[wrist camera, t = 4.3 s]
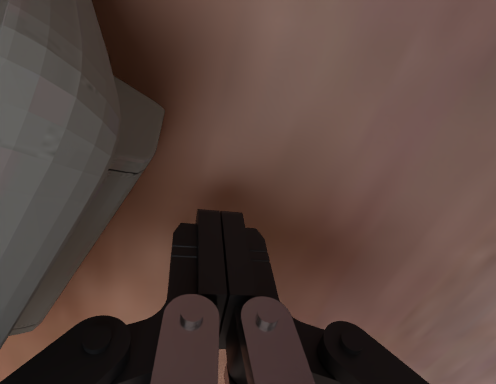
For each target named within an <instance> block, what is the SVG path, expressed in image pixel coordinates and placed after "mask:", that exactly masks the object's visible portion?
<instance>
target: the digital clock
mask: <svg viewBox="0 0 496 384" xmlns="http://www.w3.org/2000/svg"><path fill="white" fill-rule="evenodd" d="M164 113H165V110H164V109H163V108H162V107H161V106H160V105H159V104H157V103H156V102H155V101H153V100H152V99H150V98H148V97H147V96H145V95H144V94H142V93H140V92H139V91H137V90H136V89H134V88H132V87H131V86H129V85H128V84H126V83H124V82H123V81H121V80H120V79H118V78H116V77H115V76H113V73H112V69H111V65H110V61H109V57H108V53H107V50H106V47H105V43H104V40H103V37H102V33H101V30H100V27H99V23H98V20H97V17H96V13H95V10H94V7H93V3H92V0H0V349H1V347H2V346H3V344H4V342H5V341H6V339H7V338H8V336H10V335H16V334H21V333H25V332H29V331H32V330H34V329H35V328H36V327H37V326H38V325H39V324H40V323H41V322H42V321H43V319H44V318H45V316H46V315H47V313H48V312H49V310H50V309H51V307H52V306H53V304H54V303H55V301H56V300H57V298H58V297H59V296H60V294H61V293H62V291H63V290H64V288H65V287H66V285H67V284H68V282H69V281H70V279H71V278H72V276H73V275H74V273H75V272H76V270H77V269H78V267H79V266H80V264H81V263H82V261H83V260H84V258H85V257H86V256H87V254H88V253H89V251H90V250H91V248H92V247H93V245H94V244H95V242H96V241H97V239H98V238H99V236H100V235H101V233H102V232H103V230H104V229H105V227H106V226H107V224H108V223H109V221H110V220H111V218H112V217H113V216H114V214H115V213H116V211H117V210H118V208H119V207H120V205H121V204H122V202H123V201H124V199H125V198H126V196H127V195H128V193H129V192H130V190H131V189H132V187H133V186H134V184H135V183H136V181H137V180H138V179H139V177H140V176H141V174H142V173H143V171H144V170H145V168H146V167H147V165H148V164H149V162H150V161H151V159H152V158H153V156H154V154H155V152H156V149H157V144H158V140H159V136H160V131H161V127H162V122H163V118H164Z"/></svg>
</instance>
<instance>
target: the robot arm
mask: <svg viewBox="0 0 496 384" xmlns="http://www.w3.org/2000/svg"><path fill="white" fill-rule="evenodd" d="M219 349H226V355H227V364H226V367H225V371H224V379H225V384H429V383H428V382H427V381H425V380H424V379H423V378H422V377H421V376H419V375H418V374H417V373H416V372H414V371H413V370H412V369H411V368H409V367H408V366H407V365H406V364H404V363H403V362H402V361H401V360H399V359H398V358H397V357H396V356H394V355H393V354H392V353H391V352H390V351H388V350H387V349H386V348H385V347H383V346H382V345H381V344H380V343H378V342H377V341H376V340H375V339H373V338H372V337H371V336H370V335H368V334H367V333H366V332H365V331H364V330H362V329H361V328H359V327H358V326H356V325H354V324H352V323H349V322H345V321H336V322H333V323H331V324H329V325H328V326H327V327H326V329H325V330H323V329H320V328H317V327H314V326H311V325H308V324H305V323H302V322H300V321H298V320H296V319H295V318H293V317H292V316H291V314H290V312H289V310H288V309H287V308H286V307H285V306H284V305H283V304H282V303H281V302H280V301H279V297H278V293H277V289H276V285H275V281H274V277H273V273H272V269H271V264H270V263H269V256H268V253H267V248H266V244H265V240H264V238H263V237H262V235H261V234H260V233H259V232H258V230H257V229H255V228H245V224H244V218H243V214H242V213H239V212H228V211H215V210H203V209H198V211H197V216H196V223H195V224H188V223H181V224H180V225H179V226H178V227H177V229H176V230H175V231H174V233H173V242H172V252H171V262H170V272H169V283H168V294H167V300H166V303H165V304H164V306H163V307H162V309H161V310H160V311H159V312H158V313H156V314H155V315H154V316H152V317H150V318H148V319H146V320H143V321H139V322H136V323H132V324H128V325H126V324H125V323H124V322H123V321H121V320H120V319H118V318H115V317H112V316H104V315H103V316H95V317H91V318H88V319H85V320H83V321H81V322H80V323H78V324H77V325H75V326H74V327H73V328H71V329H70V330H69V331H67V332H66V333H65V334H63V335H62V336H61V337H59V338H58V339H57V340H55V341H54V342H53V343H51V344H50V345H49V346H48V347H46V348H45V349H44V350H42V351H41V352H40V353H38V354H37V355H36V356H34V357H33V358H32V359H30V360H29V361H28V362H26V363H25V364H24V365H22V366H21V367H20V368H18V369H17V370H16V371H14V372H13V373H12V374H10V375H9V376H8V377H6V378H5V379H4V380H3V381H1V382H0V384H218V357H219Z"/></svg>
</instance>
